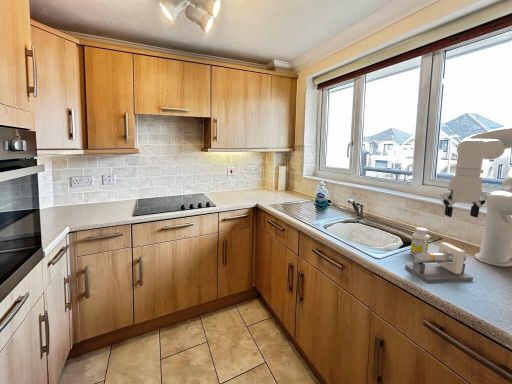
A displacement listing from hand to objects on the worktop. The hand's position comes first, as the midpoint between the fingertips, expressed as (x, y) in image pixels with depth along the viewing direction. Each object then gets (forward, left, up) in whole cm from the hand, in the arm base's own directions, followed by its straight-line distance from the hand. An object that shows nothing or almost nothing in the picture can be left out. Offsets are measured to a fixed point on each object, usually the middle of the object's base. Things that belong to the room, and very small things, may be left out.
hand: (460, 216), depth 104 cm
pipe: (+8, +2, -22) cm, 23 cm away
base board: (+8, +2, -23) cm, 25 cm away
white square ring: (+3, +2, -21) cm, 21 cm away
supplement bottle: (+2, -16, -24) cm, 29 cm away
